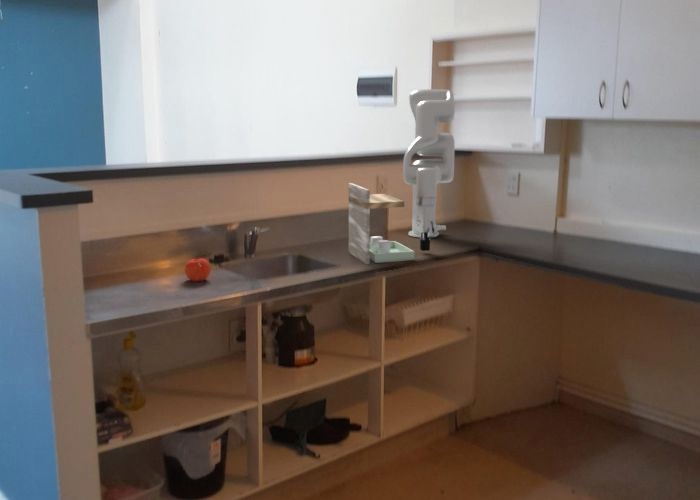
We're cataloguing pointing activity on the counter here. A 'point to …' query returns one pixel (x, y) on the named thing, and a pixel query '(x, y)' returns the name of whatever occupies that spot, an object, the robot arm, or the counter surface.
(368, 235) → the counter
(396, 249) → the tray
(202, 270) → the apple
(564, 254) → the counter surface
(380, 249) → the white egg
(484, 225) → the counter surface
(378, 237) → the grey rounded piece
